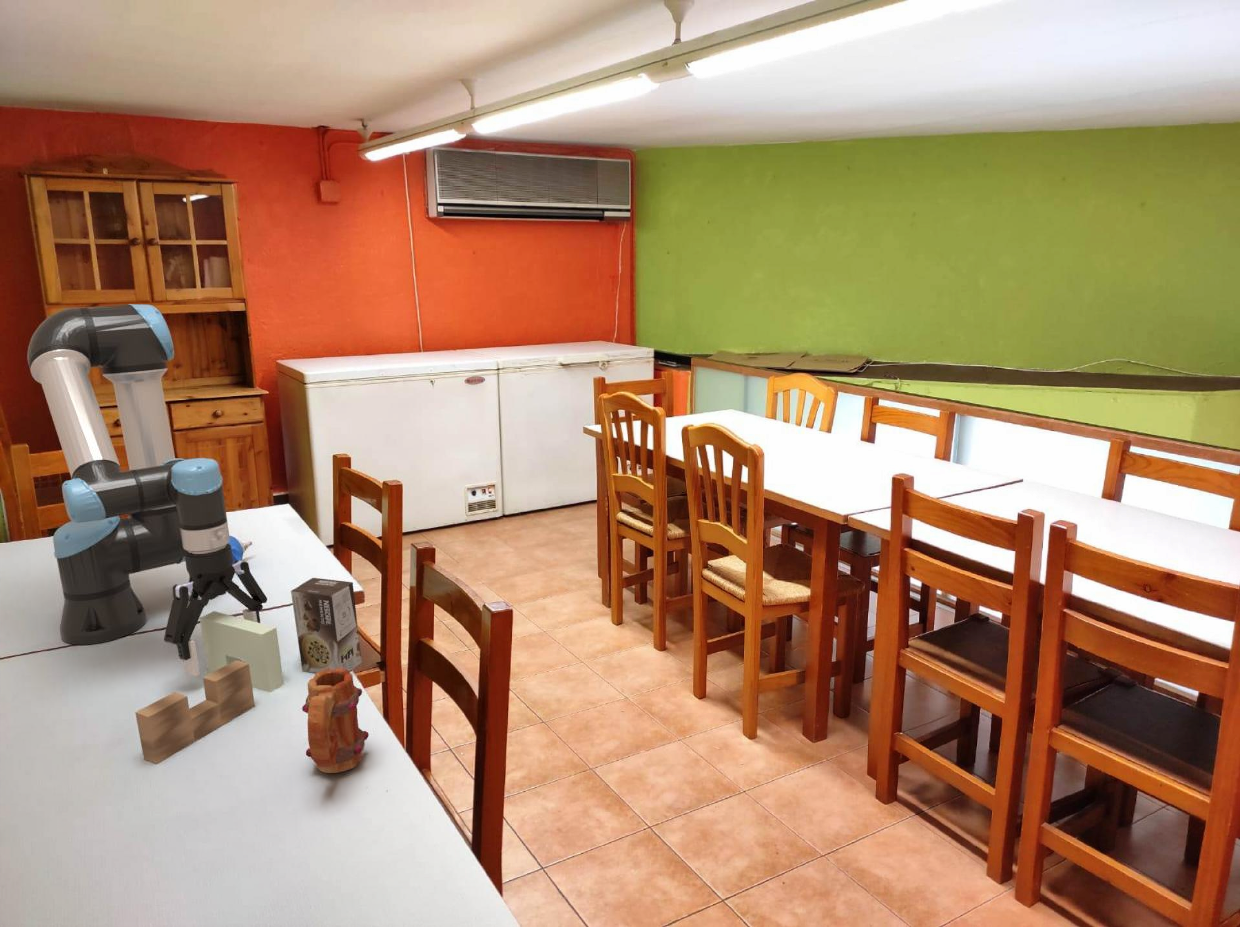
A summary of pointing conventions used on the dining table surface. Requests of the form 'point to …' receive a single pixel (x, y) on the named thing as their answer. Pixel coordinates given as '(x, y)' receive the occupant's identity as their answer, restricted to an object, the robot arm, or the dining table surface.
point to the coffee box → (326, 625)
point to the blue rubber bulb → (238, 548)
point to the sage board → (243, 647)
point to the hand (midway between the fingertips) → (224, 657)
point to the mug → (334, 721)
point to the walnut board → (194, 712)
